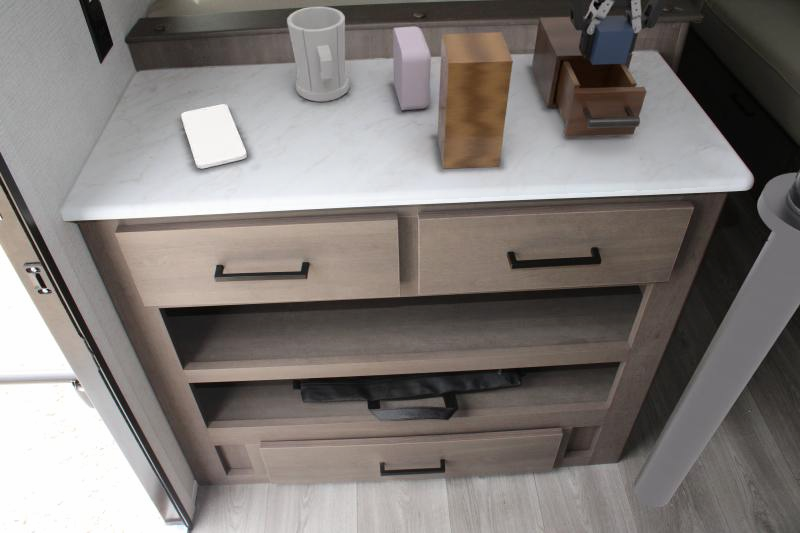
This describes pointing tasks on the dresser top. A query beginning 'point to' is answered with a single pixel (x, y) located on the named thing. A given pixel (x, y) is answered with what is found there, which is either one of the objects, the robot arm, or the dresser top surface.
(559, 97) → the drawer
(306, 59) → the cup
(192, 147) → the smartphone
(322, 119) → the dresser top surface
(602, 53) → the block
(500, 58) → the stand
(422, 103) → the electronic device
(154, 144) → the dresser top surface
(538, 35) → the cabinet
